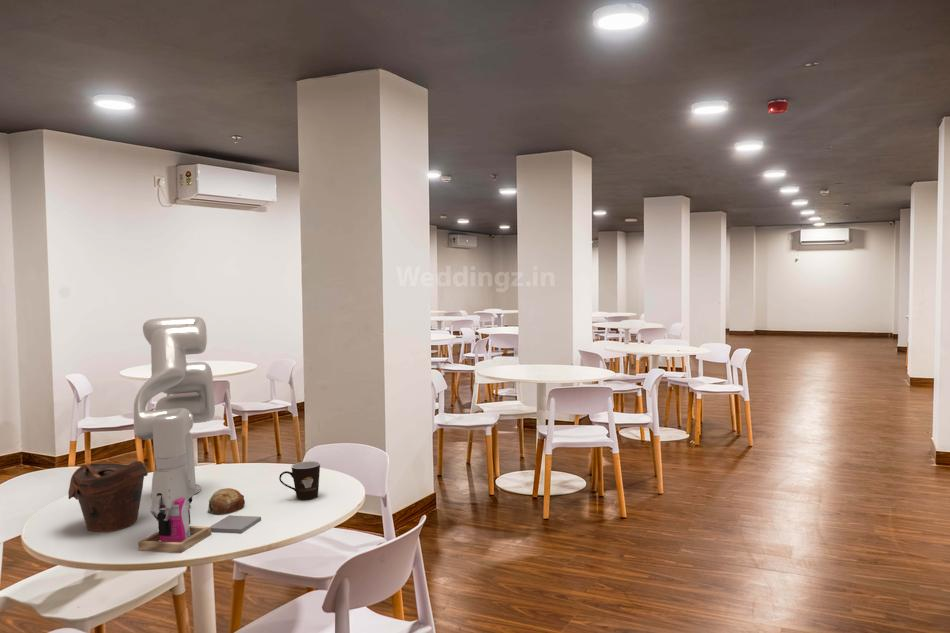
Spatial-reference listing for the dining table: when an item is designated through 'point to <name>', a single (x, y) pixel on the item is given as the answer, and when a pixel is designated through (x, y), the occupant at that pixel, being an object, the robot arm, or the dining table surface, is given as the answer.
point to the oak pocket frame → (155, 545)
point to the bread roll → (226, 501)
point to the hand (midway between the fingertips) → (175, 529)
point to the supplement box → (178, 522)
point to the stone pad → (235, 524)
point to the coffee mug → (305, 479)
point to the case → (108, 494)
